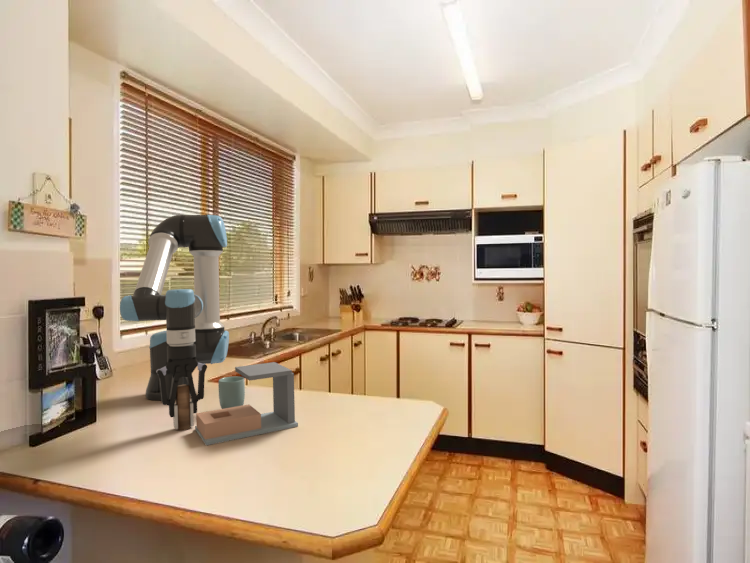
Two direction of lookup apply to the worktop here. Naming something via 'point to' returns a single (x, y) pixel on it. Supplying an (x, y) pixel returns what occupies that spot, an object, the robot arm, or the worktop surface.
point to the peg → (183, 407)
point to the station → (252, 409)
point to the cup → (231, 391)
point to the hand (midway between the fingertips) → (183, 426)
